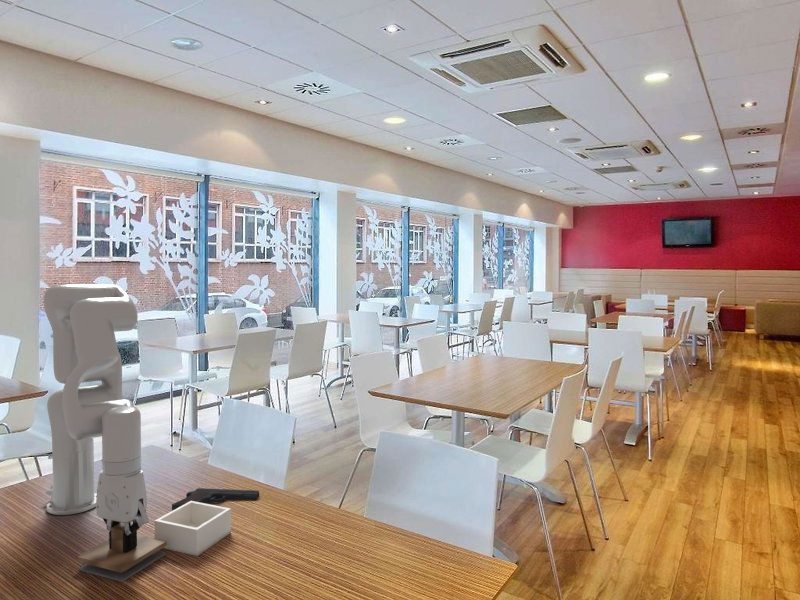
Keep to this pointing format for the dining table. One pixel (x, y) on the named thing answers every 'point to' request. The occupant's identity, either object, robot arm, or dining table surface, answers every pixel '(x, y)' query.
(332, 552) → the dining table surface
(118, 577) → the mat
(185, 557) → the dining table surface
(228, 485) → the dining table surface
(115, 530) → the lid
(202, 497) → the handgun
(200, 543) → the box
